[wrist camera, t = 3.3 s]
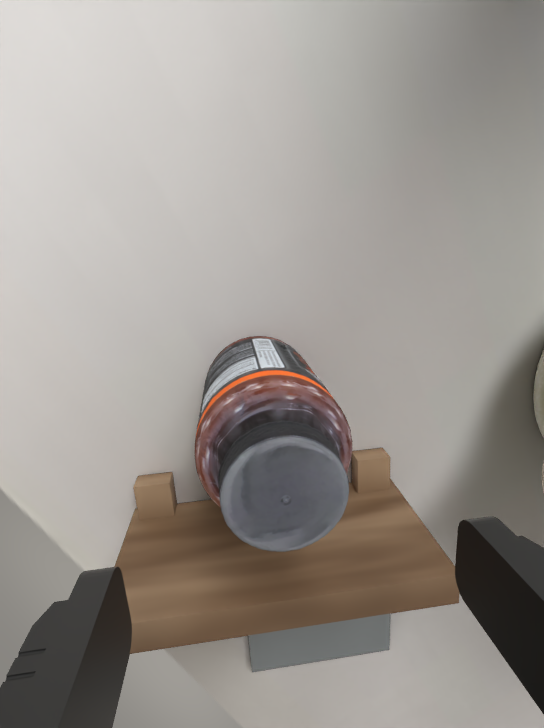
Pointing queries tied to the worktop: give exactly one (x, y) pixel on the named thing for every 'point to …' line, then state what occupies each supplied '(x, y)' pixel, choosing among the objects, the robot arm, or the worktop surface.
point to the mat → (319, 642)
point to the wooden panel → (275, 565)
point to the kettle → (539, 401)
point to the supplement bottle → (272, 446)
